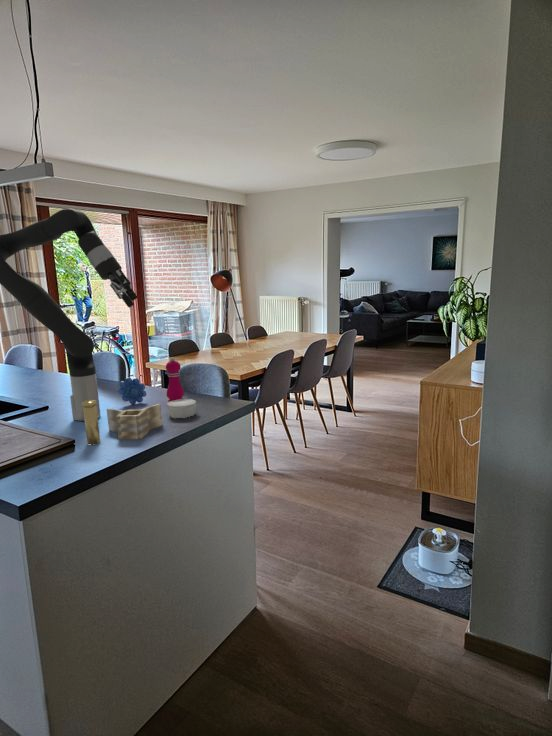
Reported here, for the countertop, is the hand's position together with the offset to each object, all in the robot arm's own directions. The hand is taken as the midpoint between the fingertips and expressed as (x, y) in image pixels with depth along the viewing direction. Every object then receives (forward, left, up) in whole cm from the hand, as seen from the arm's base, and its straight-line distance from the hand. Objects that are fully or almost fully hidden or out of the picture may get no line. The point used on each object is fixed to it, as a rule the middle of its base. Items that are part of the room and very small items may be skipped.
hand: (133, 302), depth 161 cm
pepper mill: (+3, +33, -45) cm, 55 cm away
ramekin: (+10, +16, -45) cm, 48 cm away
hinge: (-4, -4, -44) cm, 45 cm away
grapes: (-15, +33, -45) cm, 57 cm away
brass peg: (-12, -14, -44) cm, 48 cm away
